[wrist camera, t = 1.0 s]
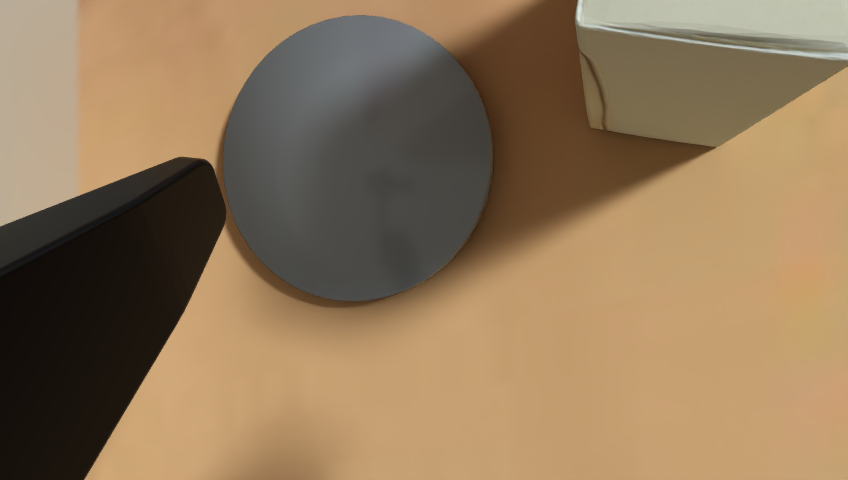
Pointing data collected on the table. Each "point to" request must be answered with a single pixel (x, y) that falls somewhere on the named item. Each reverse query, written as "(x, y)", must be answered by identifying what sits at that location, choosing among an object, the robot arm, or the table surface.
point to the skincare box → (703, 62)
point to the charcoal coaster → (358, 158)
